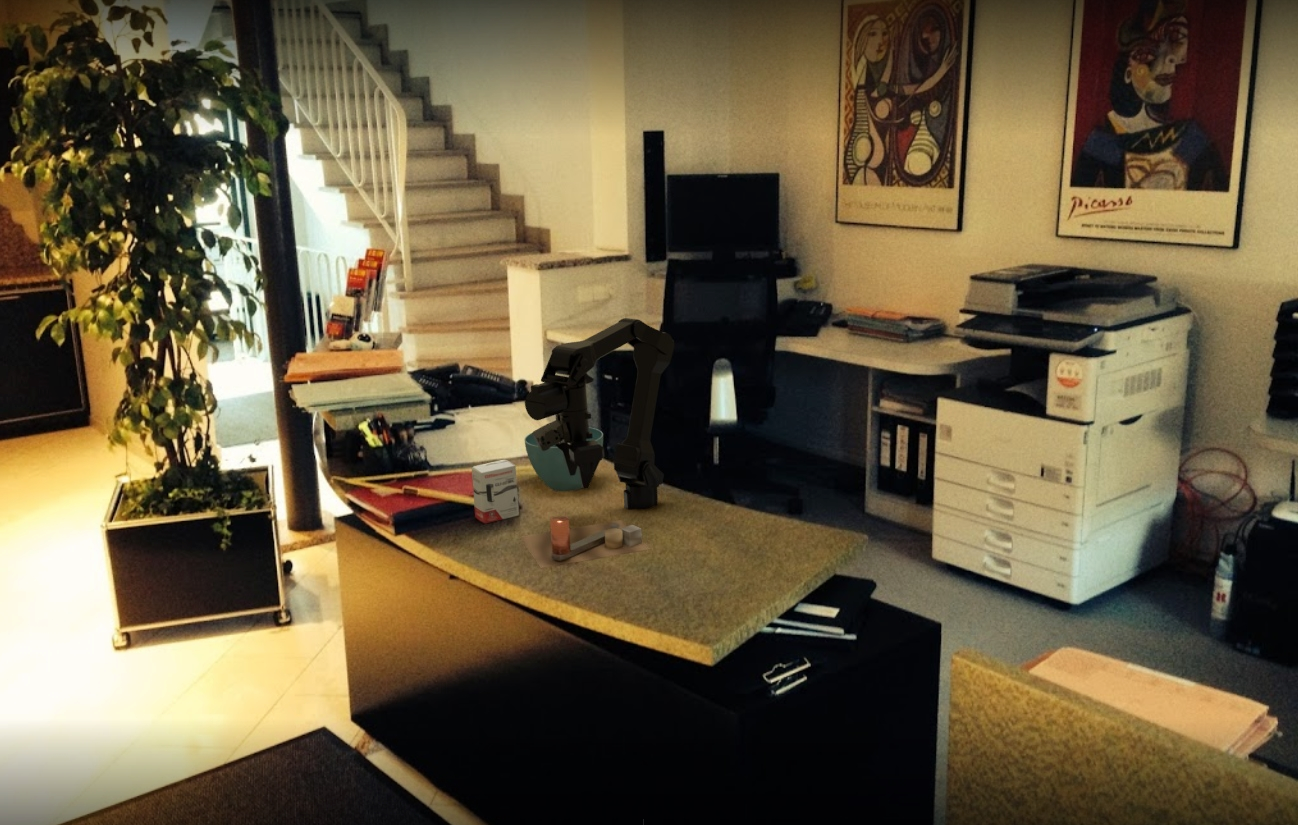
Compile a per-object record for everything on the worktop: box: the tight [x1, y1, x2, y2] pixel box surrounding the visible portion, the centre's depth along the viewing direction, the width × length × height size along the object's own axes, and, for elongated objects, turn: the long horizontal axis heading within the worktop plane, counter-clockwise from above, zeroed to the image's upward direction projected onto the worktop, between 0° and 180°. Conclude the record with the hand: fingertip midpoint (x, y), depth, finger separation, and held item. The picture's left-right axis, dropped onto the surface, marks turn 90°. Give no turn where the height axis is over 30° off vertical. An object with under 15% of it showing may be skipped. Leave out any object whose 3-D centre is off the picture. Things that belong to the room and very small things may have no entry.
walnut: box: [605, 528, 623, 549], centre depth 219 cm, size 4×4×3 cm
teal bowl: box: [524, 426, 604, 493], centre depth 259 cm, size 18×18×12 cm
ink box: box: [471, 459, 520, 524], centre depth 241 cm, size 8×5×12 cm, turn 123°
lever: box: [549, 515, 606, 561], centre depth 218 cm, size 15×4×8 cm, turn 138°
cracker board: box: [519, 519, 651, 569], centre depth 222 cm, size 22×18×4 cm
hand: (579, 481), depth 226 cm, fingers open, 9 cm apart
